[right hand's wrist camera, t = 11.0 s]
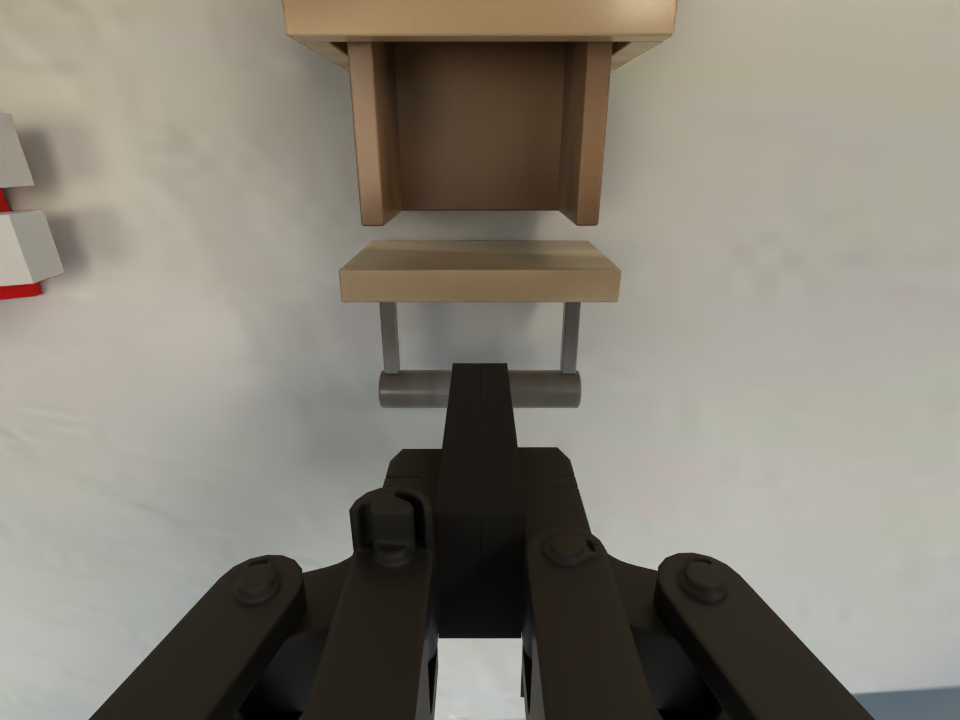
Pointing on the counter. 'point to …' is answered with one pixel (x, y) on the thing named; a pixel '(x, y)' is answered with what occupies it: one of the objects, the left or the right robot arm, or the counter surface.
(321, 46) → the wooden drawer box
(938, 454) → the counter surface
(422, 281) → the drawer
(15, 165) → the toy
